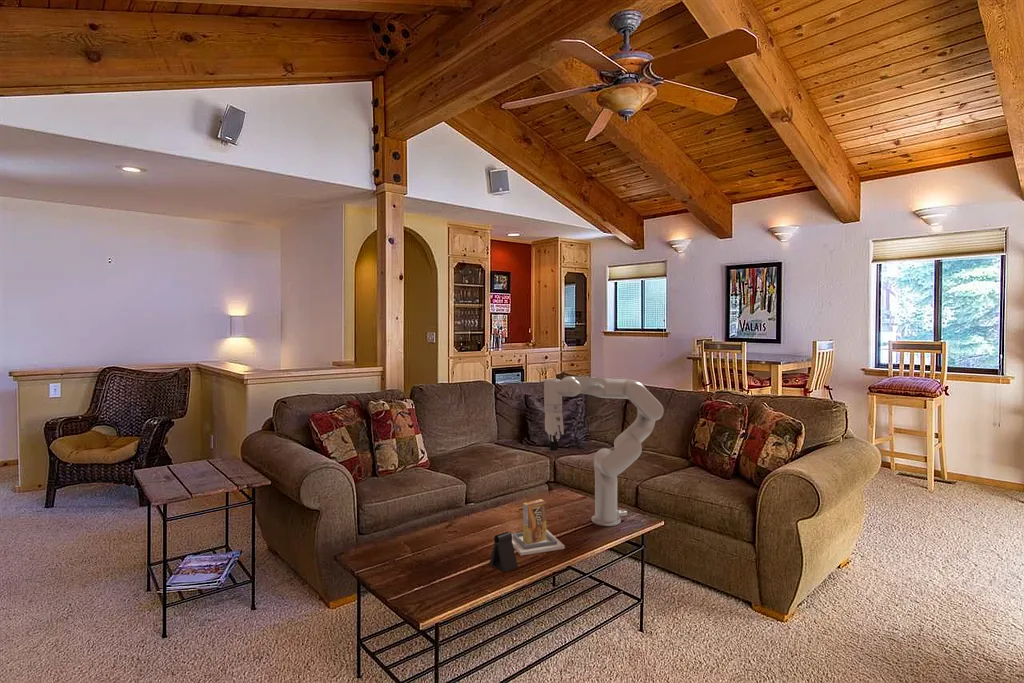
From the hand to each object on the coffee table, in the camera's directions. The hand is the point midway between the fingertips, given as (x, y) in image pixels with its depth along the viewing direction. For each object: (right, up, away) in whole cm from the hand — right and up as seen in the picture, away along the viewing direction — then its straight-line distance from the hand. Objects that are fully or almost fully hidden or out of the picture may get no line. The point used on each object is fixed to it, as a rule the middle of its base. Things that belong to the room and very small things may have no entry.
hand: (553, 450), depth 251 cm
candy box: (-9, -32, -19) cm, 39 cm away
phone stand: (-21, -35, -39) cm, 57 cm away
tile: (-9, -33, -19) cm, 39 cm away
